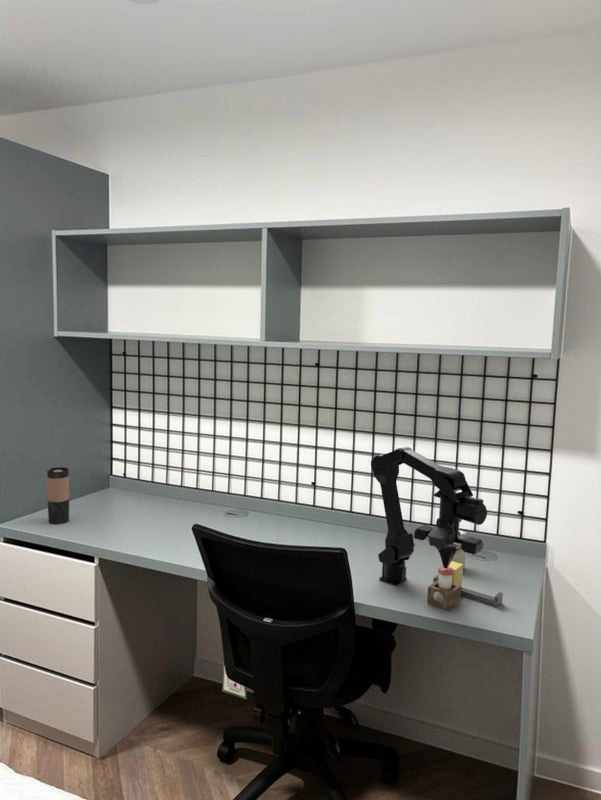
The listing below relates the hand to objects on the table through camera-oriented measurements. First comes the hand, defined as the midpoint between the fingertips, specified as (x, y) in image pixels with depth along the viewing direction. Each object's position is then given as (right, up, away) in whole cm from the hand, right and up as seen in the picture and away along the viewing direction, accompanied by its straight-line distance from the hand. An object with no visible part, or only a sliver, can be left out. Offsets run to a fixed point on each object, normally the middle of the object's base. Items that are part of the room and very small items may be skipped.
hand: (445, 567), depth 183 cm
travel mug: (-133, +2, +60) cm, 146 cm away
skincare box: (+9, -7, +27) cm, 30 cm away
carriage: (+4, -9, +10) cm, 14 cm away
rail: (+8, -10, +7) cm, 14 cm away
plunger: (0, -7, +1) cm, 7 cm away
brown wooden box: (0, -10, +1) cm, 10 cm away
